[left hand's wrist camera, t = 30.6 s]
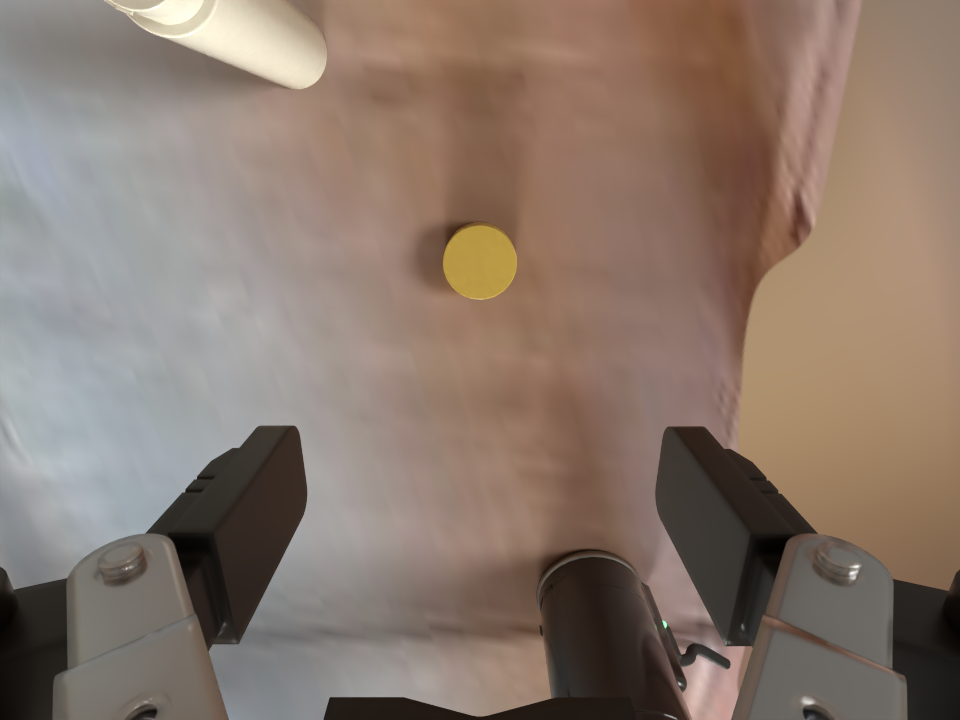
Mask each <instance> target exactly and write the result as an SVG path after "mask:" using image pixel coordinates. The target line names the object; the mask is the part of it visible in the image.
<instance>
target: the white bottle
mask: <svg viewBox="0 0 960 720" xmlns="http://www.w3.org/2000/svg"><path fill="white" fill-rule="evenodd" d="M105 1H106V2H107V3H109V4H110V5H112V6H113V7H115V8H116V9H117V10H120V11H122V12H125V13H126V15H127V16H128V17H129V18H130V19H131V20H132V21H134V22H135V23H136V24H137V25H139V26H140V27H142V28H143V29H145V30H146V31H148V32H150V33H153V34H155V35H157V36H160V37H162V38H165V39H167V40H170V41H172V42H175V43H177V44H180V45H182V46H185V47H187V48H190V49H192V50H195V51H197V52H200V53H202V54H205V55H207V56H210V57H212V58H215V59H217V60H220V61H222V62H224V63H227V64H229V65H232V66H234V67H237V68H239V69H242V70H244V71H247V72H249V73H252V74H254V75H257V76H259V77H262V78H264V79H267V80H269V81H272V82H274V83H277V84H279V85H282V86H284V87H287V88H291V89H303V88H306V87H309V86H311V85H312V84H314V83H315V82H316V81H317V80H318V79H319V78H320V76H321V75H322V73H323V71H324V69H325V66H326V61H327V49H326V44H325V40H324V38H323V35H322V33H321V31H320V30H319V28H318V27H317V25H316V24H315V23H314V22H313V21H312V20H311V19H310V18H308V17H307V16H306V15H305V14H304V13H303V12H301V11H300V10H299V9H298V8H297V7H296V6H294V5H293V4H292V3H291V2H290V1H289V0H105Z"/></svg>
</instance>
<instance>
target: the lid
mask: <svg viewBox="0 0 960 720" xmlns="http://www.w3.org/2000/svg"><path fill="white" fill-rule="evenodd" d="M516 267H517V258H516V252H515V250H514V247H513V244H512V242H511V240H510V239H509V237H508V236H507V234H506V233H505V232H504V231H503V230H501V229H500V228H498V227H497V226H495V225H493V224H490V223H485V222H475V223H470V224H467V225H465V226H463V227H461V228H460V229H458V230H457V231H456V232H455V233H454V234H453V235H452V237H451V238H450V240H449V242H448V244H447V246H446V249H445V252H444V255H443V269H444V273H445V276H446V278H447V280H448V282H449V283H450V285H451V286H452V287H453V288H454V289H455V290H456V291H457V292H458V293H460V294H462V295H463V296H466V297H468V298H472V299H487V298H491V297H494V296H496V295H498V294H500V293H501V292H503V291H504V290H505V289H506V288H507V287H508V286H509V284H510V283H511V281H512V280H513V278H514V275H515V272H516Z"/></svg>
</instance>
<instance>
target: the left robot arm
mask: <svg viewBox="0 0 960 720" xmlns="http://www.w3.org/2000/svg"><path fill="white" fill-rule="evenodd" d="M655 496H656V506H657V510H658V514H659V517H660V519H661V521H662V523H663V525H664V527H665V529H666V531H667V533H668V534H669V536H670V538H671V540H672V542H673V544H674V546H675V548H676V550H677V552H678V554H679V556H680V558H681V560H682V562H683V564H684V566H685V568H686V570H687V572H688V574H689V576H690V578H691V580H692V582H693V583H694V585H695V587H696V589H697V591H698V593H699V595H700V597H701V599H702V601H703V603H704V605H705V607H706V609H707V611H708V613H709V615H710V617H711V619H712V621H713V623H714V625H715V627H716V629H717V630H718V632H719V634H720V636H721V638H722V640H723V642H724V644H725V646H752V648H753V650H752V653H751V656H750V660H749V663H748V666H747V669H746V673H745V676H744V679H743V683H742V686H741V689H740V692H739V696H738V699H737V702H736V706H735V709H734V712H733V715H732V719H731V720H960V570H959V571H958V572H957V573H956V575H955V577H954V580H953V582H952V584H951V587H950V589H949V591H946V590H941V589H936V588H932V587H927V586H922V585H918V584H913V583H908V582H904V581H899V580H895V579H892V576H891V574H890V573H889V571H888V570H887V568H886V567H885V566H884V565H883V564H882V563H881V562H880V561H879V560H878V559H876V558H875V557H874V556H872V555H871V554H869V553H868V552H867V551H865V550H863V549H861V548H860V547H858V546H856V545H854V544H852V543H849V542H847V541H844V540H841V539H838V538H835V537H832V536H827V535H822V534H818V533H817V532H816V531H815V530H814V529H813V528H812V527H811V526H810V525H809V523H808V522H807V521H806V520H805V519H804V518H803V517H802V516H801V515H800V514H799V513H798V511H797V510H796V509H795V508H794V507H793V506H792V505H791V504H790V503H789V502H788V501H787V499H786V498H785V497H784V496H783V495H782V494H779V493H778V490H777V489H776V487H775V486H774V485H773V484H772V483H771V482H770V481H767V480H766V477H765V475H764V474H763V473H762V472H761V471H760V470H759V469H758V468H757V467H756V466H755V465H754V463H753V462H751V461H749V460H748V459H746V458H744V457H743V456H741V455H740V454H738V453H736V452H735V451H733V450H731V449H724V448H723V447H722V446H721V445H720V444H719V443H718V441H717V440H716V439H715V438H714V437H713V436H712V434H711V433H710V432H709V431H708V430H707V429H706V428H705V427H667V428H666V429H665V431H664V434H663V439H662V447H661V454H660V461H659V468H658V475H657V482H656V491H655ZM306 502H307V483H306V476H305V469H304V462H303V455H302V448H301V440H300V434H299V431H298V429H297V427H296V426H258V427H257V428H256V429H255V430H254V431H253V433H252V434H251V435H250V436H249V437H248V438H247V440H246V441H245V442H244V443H243V444H242V446H241V447H240V448H232V449H230V450H229V451H227V452H225V453H224V454H222V455H220V456H219V457H217V458H216V459H214V460H212V461H211V462H210V463H209V464H208V465H207V466H206V467H205V468H204V469H203V471H202V472H201V473H200V474H199V475H198V476H197V480H194V481H193V482H192V483H191V484H190V485H189V486H188V487H187V488H186V491H185V493H182V494H181V495H180V496H179V497H178V498H177V499H176V500H175V501H174V503H173V504H172V505H171V506H170V507H169V508H168V509H167V510H166V511H165V512H164V514H163V515H162V516H161V517H160V518H159V519H158V520H157V521H156V522H155V523H154V525H153V526H152V527H151V528H150V529H149V530H148V531H147V532H146V533H145V534H138V535H133V536H128V537H125V538H121V539H118V540H116V541H113V542H111V543H108V544H106V545H104V546H102V547H100V548H99V549H97V550H95V551H93V552H92V553H90V554H89V555H88V556H86V557H85V558H84V559H82V560H81V561H80V562H79V563H78V564H77V565H76V566H75V567H74V568H73V570H72V571H71V573H70V574H69V576H68V578H67V579H62V580H57V581H53V582H48V583H43V584H39V585H34V586H29V587H25V588H20V589H15V590H13V587H12V585H11V582H10V580H9V578H8V575H7V573H6V571H5V570H4V569H3V568H1V567H0V720H229V719H228V715H227V712H226V709H225V706H224V702H223V699H222V696H221V692H220V689H219V686H218V683H217V679H216V676H215V673H214V669H213V666H212V663H211V660H210V656H209V653H208V651H209V650H210V648H211V646H212V644H239V642H240V640H241V638H242V636H243V634H244V632H245V630H246V628H247V626H248V624H249V622H250V620H251V618H252V616H253V614H254V612H255V610H256V608H257V606H258V604H259V602H260V601H261V599H262V597H263V595H264V593H265V591H266V589H267V587H268V585H269V583H270V581H271V579H272V577H273V575H274V573H275V571H276V569H277V567H278V565H279V563H280V561H281V559H282V557H283V555H284V553H285V551H286V549H287V547H288V545H289V543H290V541H291V539H292V537H293V535H294V533H295V531H296V529H297V527H298V525H299V523H300V521H301V519H302V517H303V515H304V512H305V508H306ZM537 602H538V608H539V611H540V616H541V624H542V627H541V626H540V632H541V635H542V636H543V640H544V647H545V655H546V662H547V669H548V677H549V684H550V691H551V699H549V700H545V701H541V702H537V703H534V704H530V705H526V706H522V707H519V708H515V709H511V710H508V711H504V712H500V713H496V714H493V715H489V716H484V717H476V716H471V715H467V714H464V713H460V712H456V711H452V710H449V709H445V708H441V707H438V706H434V705H430V704H426V703H423V702H419V701H415V700H411V699H408V698H404V697H330V698H329V702H328V706H327V709H326V713H325V716H324V720H692V718H691V715H690V713H689V710H688V708H687V705H686V702H685V700H684V697H683V694H682V693H683V692H684V691H685V689H686V687H687V682H686V678H685V676H684V673H683V671H682V668H681V667H686V666H689V665H691V664H692V663H694V661H695V659H696V656H697V655H700V656H703V657H705V658H707V659H708V660H710V661H712V662H713V663H715V664H717V665H718V666H720V667H722V668H724V669H729V668H730V661H729V660H728V659H726V658H725V657H723V656H721V655H719V654H718V653H716V652H714V651H713V650H711V649H709V648H707V647H705V646H703V645H699V644H691V645H690V646H688V648H687V650H686V653H685V654H683V655H681V653H680V651H679V649H678V646H677V644H676V641H675V639H674V636H673V634H672V631H671V629H670V627H668V626H666V622H664V621H662V618H661V616H660V613H659V611H658V608H657V606H656V603H655V601H654V598H653V596H652V593H651V591H650V588H649V586H647V585H645V584H643V583H641V581H640V578H639V576H638V574H637V572H636V570H635V569H634V568H633V566H632V565H631V564H630V563H628V562H627V561H626V560H624V559H623V558H621V557H619V556H617V555H614V554H611V553H608V552H603V551H582V552H577V553H574V554H570V555H568V556H565V557H563V558H561V559H560V560H558V561H556V562H555V563H554V564H552V565H551V566H550V567H549V568H548V569H547V570H546V571H545V573H544V574H543V575H542V577H541V579H540V581H539V584H538V587H537Z"/></svg>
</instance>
